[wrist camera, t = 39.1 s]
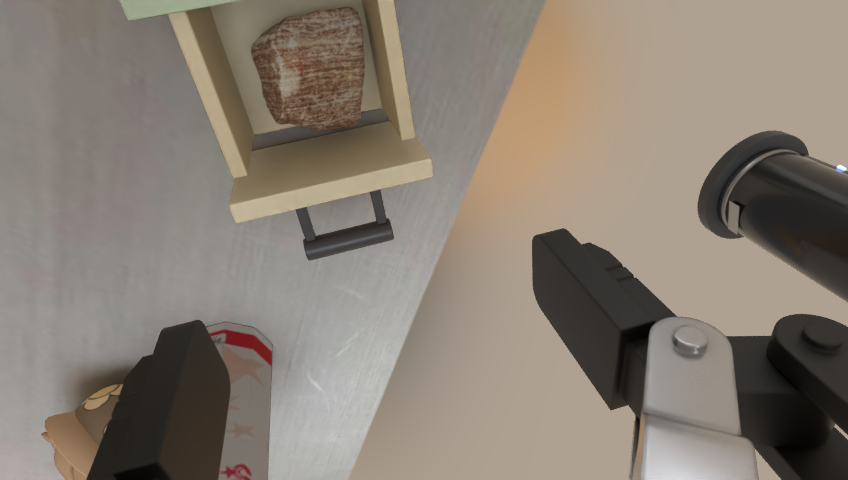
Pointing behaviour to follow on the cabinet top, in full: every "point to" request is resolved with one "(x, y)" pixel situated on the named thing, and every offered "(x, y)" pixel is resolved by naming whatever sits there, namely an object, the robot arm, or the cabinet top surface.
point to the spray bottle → (245, 401)
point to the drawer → (302, 160)
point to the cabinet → (164, 7)
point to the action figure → (81, 433)
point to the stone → (313, 69)
